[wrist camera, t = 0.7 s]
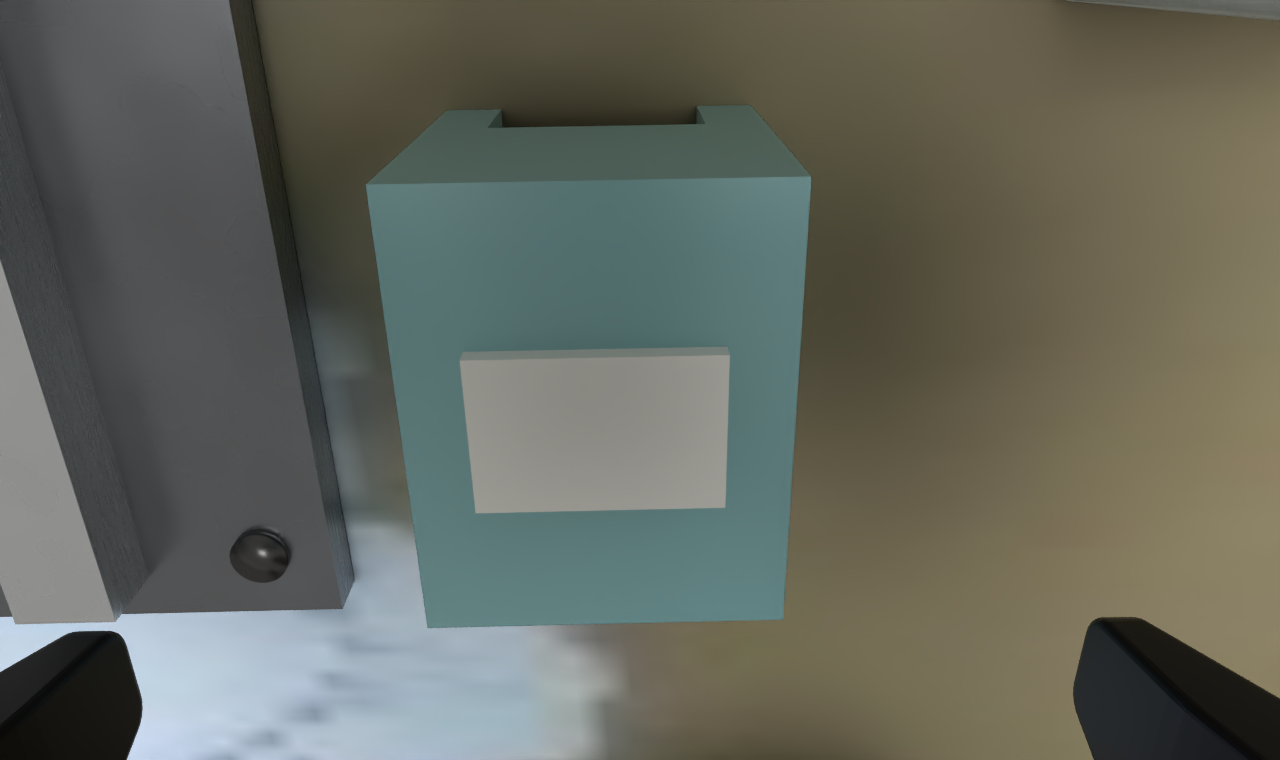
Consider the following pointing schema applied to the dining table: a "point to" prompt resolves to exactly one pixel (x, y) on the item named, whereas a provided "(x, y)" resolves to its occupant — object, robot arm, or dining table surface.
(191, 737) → the dining table surface
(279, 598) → the plate
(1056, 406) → the dining table surface
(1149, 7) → the small box
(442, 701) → the dining table surface
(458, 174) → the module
